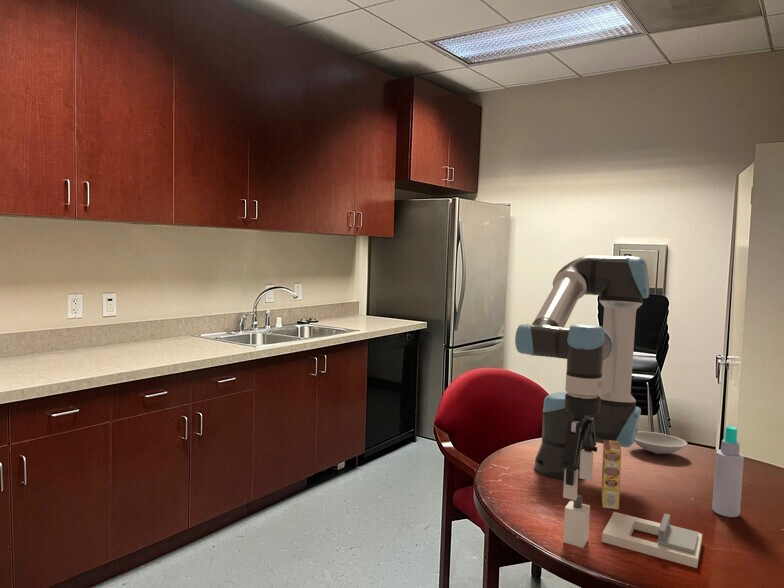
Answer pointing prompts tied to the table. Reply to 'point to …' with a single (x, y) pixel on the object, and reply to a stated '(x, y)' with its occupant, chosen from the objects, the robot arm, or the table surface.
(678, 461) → the table surface
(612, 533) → the socket plate
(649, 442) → the dish
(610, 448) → the candy box
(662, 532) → the shutter
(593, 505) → the table surface
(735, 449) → the spray bottle
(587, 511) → the plug
